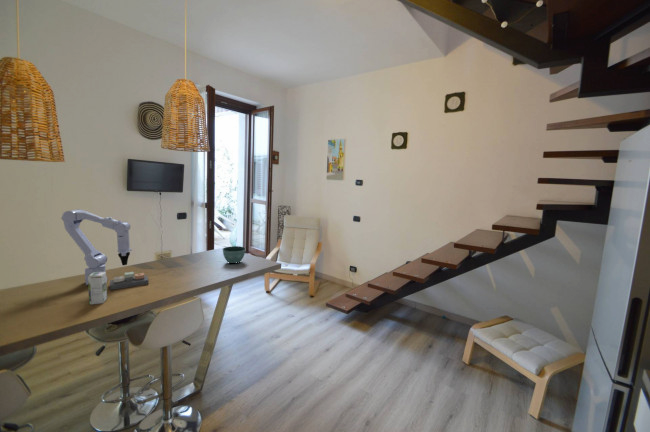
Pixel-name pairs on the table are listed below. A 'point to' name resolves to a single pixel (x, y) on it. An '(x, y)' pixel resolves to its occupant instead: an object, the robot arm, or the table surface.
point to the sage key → (129, 276)
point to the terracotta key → (139, 276)
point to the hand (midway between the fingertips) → (124, 264)
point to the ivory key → (118, 279)
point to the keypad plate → (128, 283)
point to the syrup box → (97, 288)
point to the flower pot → (233, 253)
